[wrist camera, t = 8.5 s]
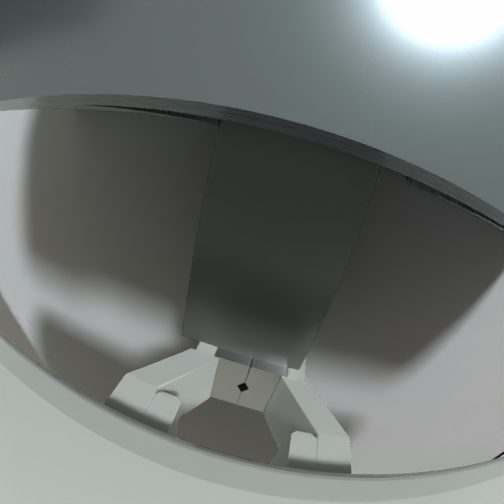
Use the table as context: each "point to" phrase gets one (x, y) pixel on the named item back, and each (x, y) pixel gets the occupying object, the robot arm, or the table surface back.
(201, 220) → the plug
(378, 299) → the table surface
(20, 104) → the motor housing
